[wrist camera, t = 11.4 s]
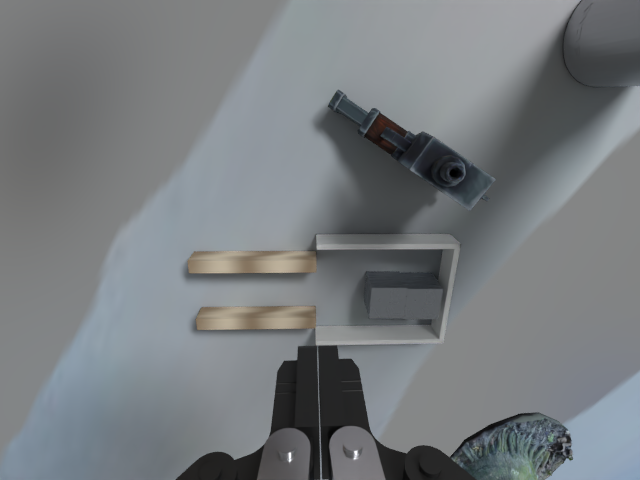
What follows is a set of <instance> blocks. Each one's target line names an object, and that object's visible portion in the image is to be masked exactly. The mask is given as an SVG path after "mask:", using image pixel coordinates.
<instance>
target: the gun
mask: <svg viewBox="0 0 640 480" xmlns="http://www.w3.org/2000/svg"><path fill="white" fill-rule="evenodd" d="M328 107H330V108H331V109H332V110H334V111H335V112H337V113H338V112H340V113H342V114H343V115H344V116H346V117H347V118H349V119H350V120H352V121H353V122H355V123H356V124H358V125H359V126H360V127H359V129H358V134H360V135H361V136H363V137H364V138H365V137H366V138H367V139H369V140H370V141H372V142H373V143H375V144H376V145H378V146H379V147H381V148H382V149H384V150H385V151H386V152H388V153H389V154H391V156H392V157H393V158H395V159H396V160H398V161H399V162H400V163H401V164H402V165H404V166H405V167H406V168H408V169H409V170H411V171H412V172H414V173H415V174H417V175H418V176H420V177H421V178H422V179H424V180H425V181H427V182H428V183H430V184H431V185H433V186H434V187H436V188H437V189H438V190H440V191H441V192H443V193H444V194H446V195H447V196H449V197H450V198H452V199H453V200H455V201H456V202H457V203H459V204H460V205H462V206H463V207H465V208H466V209H468V210H469V211H470V210H471V209H472V208H473V207H474V205H475V204H476V203H477V202H478V200H479V199H481V198H482V199H484V200H486V201H488V200H489V198H488V197H487V196H485V195H484V194H485V193H486V191H487V190H488V188H489V187H490V186H491V185H492V183H493V182H494V181H495V180H496V179H495V178H493V177H492V176H490V175H489V174H487V173H486V172H485V171H483V170H482V169H480V168H479V167H477V166H476V165H474V164H473V163H471V162H470V161H468V160H467V159H465V158H464V157H463V156H461V155H460V154H458V153H457V152H455V151H454V150H452V149H451V148H449V147H448V146H446V145H445V144H443V143H442V142H441V141H439V140H438V139H436V138H435V137H433V136H431V135H429V134H427V133H425V132H421V133H419V134H417V135H416V136H415V135H414V134H412V133H411V132H409V131H408V132H407V131H406V130H404V129H403V128H402V127H400V126H399V125H397V124H396V123H394V122H393V121H391V120H390V119H388V118H387V117H385V116H384V115H382V114H381V113H380V111H379V110H377V109H376V108H372V109H371V111H370V112H369V113H368V112H366V111H365V110H363V109H362V108H360V107H359V106H357V105H356V104H355V103H353V102H352V101H350V100H349V99H347V96H346V95H345V94H344V93H342V92H341V91H339V90H337V91H336V93H335V95H334V96H333V98H332V100H331V101H330V103H329V105H328Z"/></svg>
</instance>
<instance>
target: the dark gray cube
mask: <svg viewBox="0 0 640 480" xmlns="http://www.w3.org/2000/svg"><path fill="white" fill-rule="evenodd" d="M400 274H401V276H402V278H403V280H404V282H405V284H406V286H407V288H408V290H407V297H406V305H405V313H404V318H403V319H438V316H439V310H440V305H441V299H442V293H443V288H442V287H441V285H440V284H439V282H438V281H437V279H436V278H435V277H434V275H433V274H432V273H400Z"/></svg>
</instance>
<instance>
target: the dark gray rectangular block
mask: <svg viewBox="0 0 640 480" xmlns="http://www.w3.org/2000/svg"><path fill="white" fill-rule="evenodd" d="M407 290H408V288H407V286H406V284H405V282H404V280H403V278H402V276H401V274H400V272H366V280H365V293H364V302H365V306H366V309H367V313H368V316H369V319H384V318H404V313H405V305H406V297H407Z"/></svg>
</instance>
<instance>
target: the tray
mask: <svg viewBox="0 0 640 480" xmlns="http://www.w3.org/2000/svg"><path fill="white" fill-rule="evenodd" d="M316 246H317V250H356V249H443V252H442V258H441V265H440V271H439V277H438V282H439V284H440V285H441V287H442V288H443V293H442V299H441V305H440V310H439V316H438V319H432V322H431V325H370V326H316V328H315V337H316V345H373V344H440V343H443V342H444V337H445V331H446V326H447V320H448V314H449V309H450V303H451V297H452V292H453V286H454V280H455V275H456V269H457V263H458V258H459V252H460V246H461V244H460V243H459V242H458V241H457V240H456V239H455V238H454V237H453V236H452V235H451V234H316Z"/></svg>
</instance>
